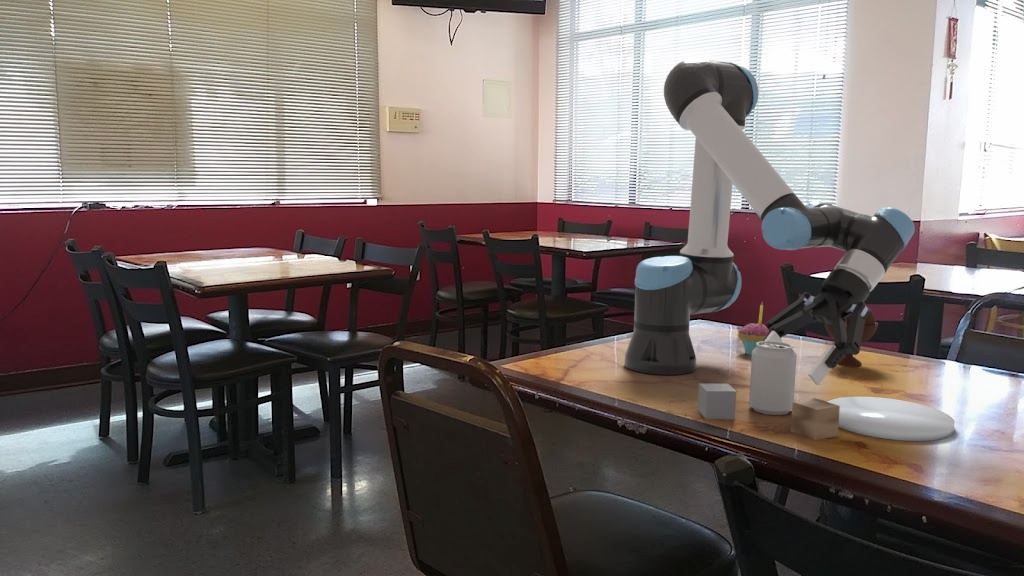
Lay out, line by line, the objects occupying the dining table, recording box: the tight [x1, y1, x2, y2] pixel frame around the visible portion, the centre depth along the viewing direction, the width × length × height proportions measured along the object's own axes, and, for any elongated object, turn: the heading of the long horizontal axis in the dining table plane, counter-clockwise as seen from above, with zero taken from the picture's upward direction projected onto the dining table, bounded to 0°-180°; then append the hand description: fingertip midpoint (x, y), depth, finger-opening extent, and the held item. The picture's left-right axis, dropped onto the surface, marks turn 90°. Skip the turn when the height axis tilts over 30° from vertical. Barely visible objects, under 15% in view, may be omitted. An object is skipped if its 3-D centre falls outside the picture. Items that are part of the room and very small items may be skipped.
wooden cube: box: [790, 397, 840, 441], centre depth 129 cm, size 5×5×5 cm
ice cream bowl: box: [823, 301, 879, 368], centre depth 176 cm, size 11×11×15 cm
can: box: [748, 341, 798, 416], centre depth 141 cm, size 8×8×12 cm
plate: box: [826, 396, 955, 442], centre depth 135 cm, size 20×20×2 cm
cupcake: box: [737, 301, 769, 356], centre depth 186 cm, size 9×8×12 cm
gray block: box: [697, 383, 737, 420], centre depth 138 cm, size 5×5×5 cm
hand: (783, 371), depth 140 cm, fingers open, 13 cm apart
